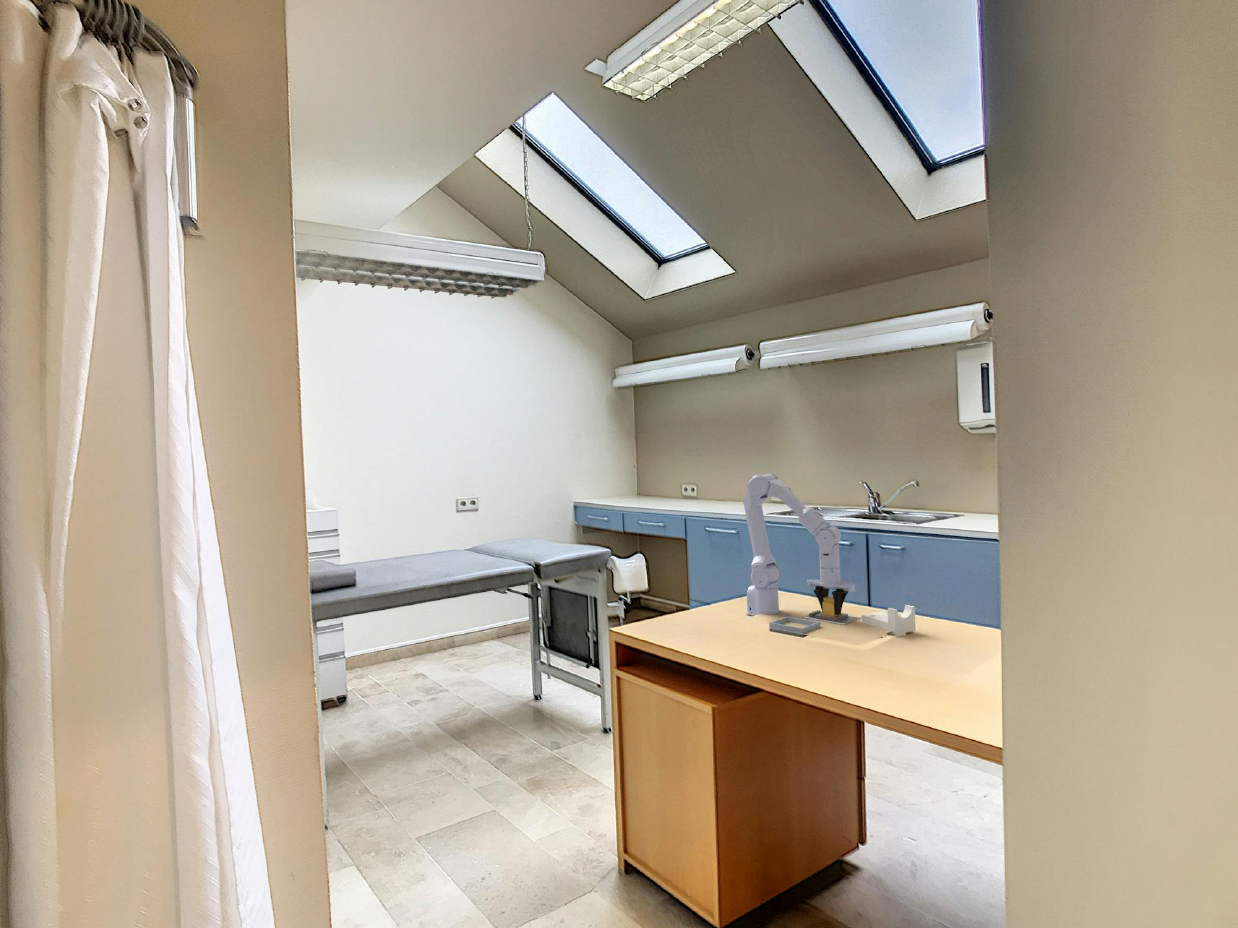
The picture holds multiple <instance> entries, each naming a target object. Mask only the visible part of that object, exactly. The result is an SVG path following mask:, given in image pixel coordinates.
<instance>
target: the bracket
mask: <svg viewBox="0 0 1238 928" xmlns="http://www.w3.org/2000/svg"><path fill="white" fill-rule="evenodd" d="M861 622H862V624H863V623H864V624H867V625H869V626H870V625H871V626H874V627H876V628H880V629H884V630H886V631H889V632H888V633H886V635H889V636H891V635H892V636H891V637H894V638H897V637H902V636H901V635H903V636H906V633H911V632H915V631H916V628H917V627H916V607H915V606H914V605H909V604H905V605H904V610H903V612H902V613H901V614H899V611H898V609H897V608H896V609H895V608H892V607H888V608H887V612H884V611H878V612H872V613H867V614H862V615H861Z"/></svg>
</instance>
